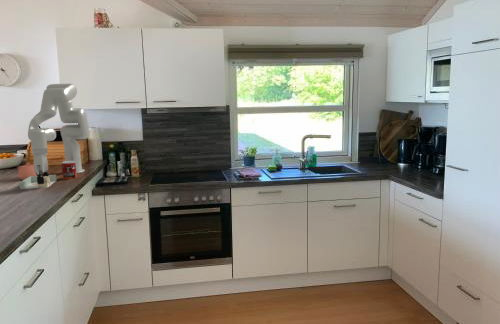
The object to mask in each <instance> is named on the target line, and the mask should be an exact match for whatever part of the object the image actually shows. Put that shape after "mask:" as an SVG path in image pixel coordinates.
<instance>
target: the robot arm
mask: <svg viewBox="0 0 500 324" xmlns="http://www.w3.org/2000/svg"><path fill="white" fill-rule="evenodd" d="M77 93H78V88H77V86H76V85H75V84H74V83H51V84H48V85H47V86H46V89H45V90H44V91H43V94H42V99H41V105H40V110H39V112H38V113H37V114H35V115H34V116H33V117H32V118H31V120H30V122H29V123H28V124H29V125H28V129H27V137H28V139H29V141H30V143H31V154H32V156H33V165H34V172H35V173H36V174H37V183H38V184H44V178H43V177H45V176H49V175H50V174H49V161H48V156H47V155H48V154H49V153H48V152H49V151H48V143H47V142H52V141H54V140H55V139H56V138H57V132H56V130H55V129H54V128H52V127H51V128H50V127H43V128H42V127H41V128H40V127H39V126H40V125H41V124H42V123H43V122H46V121H48V120H49V119H52V118H54V117H56V115H57V113H58V114H59V119H60V121H61V123H63V124H66V125H63V126H62V127H61V128H60V136H61V139H62V143H63V150H64V161H75V164H76V173H77V174H81V173H84V172H85V169H84V168H83V167H82V158H81V157H82V155H81V148H80V143H79V142H78V141H77V140H86V139H88V138H89V137H90V128H89V127H90V126H89V122H88V115H87V113H86V111H85V109H83V108H79V107H73V104H72V103H73V102H72V100H73V99H74V98H75V97H77Z"/></svg>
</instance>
